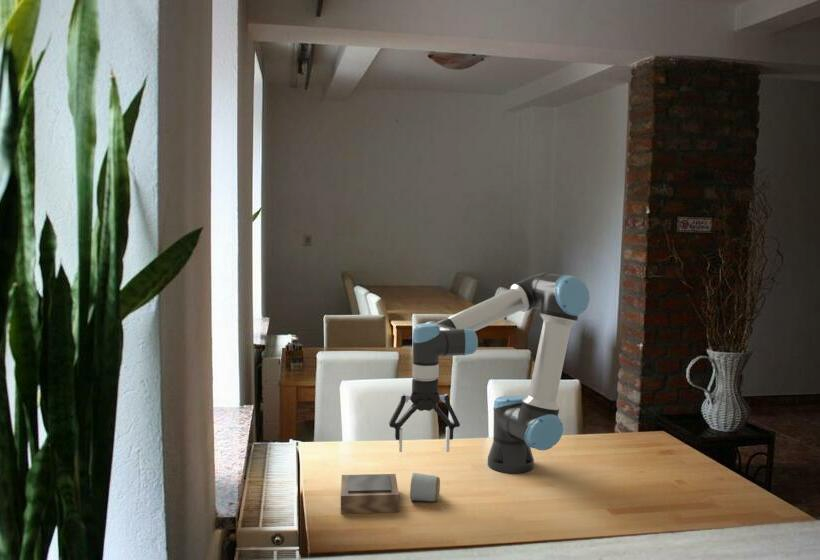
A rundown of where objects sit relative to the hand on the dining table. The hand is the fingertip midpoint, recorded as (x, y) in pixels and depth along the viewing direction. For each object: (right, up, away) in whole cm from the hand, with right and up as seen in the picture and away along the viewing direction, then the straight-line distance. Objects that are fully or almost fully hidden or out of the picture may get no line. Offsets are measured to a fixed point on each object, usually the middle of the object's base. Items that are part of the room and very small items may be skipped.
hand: (423, 450), depth 210 cm
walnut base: (-16, -14, -1) cm, 21 cm away
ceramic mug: (0, -15, +2) cm, 15 cm away
